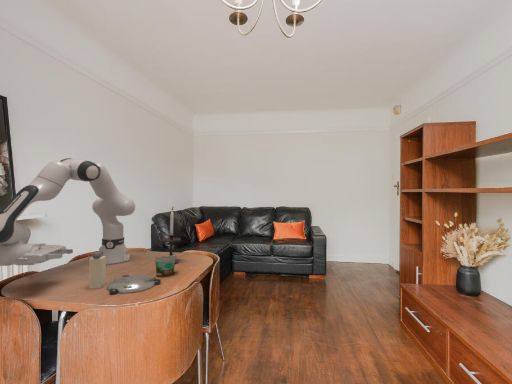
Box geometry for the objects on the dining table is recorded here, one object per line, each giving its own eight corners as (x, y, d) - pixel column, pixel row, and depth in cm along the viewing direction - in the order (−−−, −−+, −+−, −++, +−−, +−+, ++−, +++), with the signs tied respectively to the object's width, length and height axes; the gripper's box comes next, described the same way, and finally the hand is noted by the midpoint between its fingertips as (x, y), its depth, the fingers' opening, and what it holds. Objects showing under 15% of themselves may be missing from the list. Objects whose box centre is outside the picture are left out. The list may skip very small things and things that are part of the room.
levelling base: (116, 278, 126) (116, 273, 126) (163, 276, 131) (163, 271, 131) (99, 295, 105) (100, 289, 105) (156, 292, 110) (157, 286, 110)
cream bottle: (93, 284, 118) (94, 250, 118) (105, 283, 119) (106, 250, 119) (88, 289, 112) (89, 253, 112) (100, 288, 113) (101, 253, 113)
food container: (161, 279, 126) (162, 259, 127) (153, 277, 130) (154, 257, 130) (181, 273, 137) (181, 254, 137) (173, 271, 140) (173, 252, 140)
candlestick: (183, 262, 159) (185, 205, 160) (169, 266, 150) (170, 206, 150) (172, 259, 165) (173, 205, 165) (157, 263, 156) (159, 205, 156)
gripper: (13, 251, 99) (54, 251, 102) (44, 242, 119) (77, 242, 122) (12, 268, 99) (53, 267, 102) (43, 256, 119) (77, 255, 122)
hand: (67, 253), depth 112 cm, fingers open, 8 cm apart
